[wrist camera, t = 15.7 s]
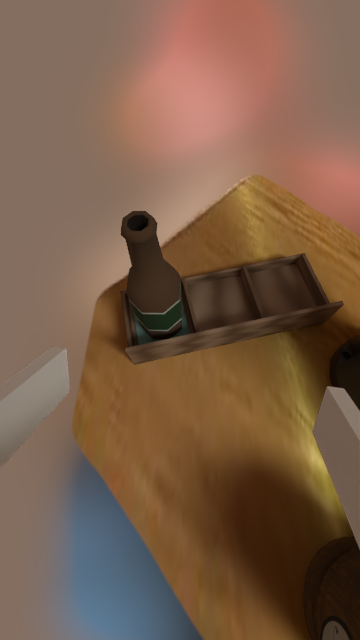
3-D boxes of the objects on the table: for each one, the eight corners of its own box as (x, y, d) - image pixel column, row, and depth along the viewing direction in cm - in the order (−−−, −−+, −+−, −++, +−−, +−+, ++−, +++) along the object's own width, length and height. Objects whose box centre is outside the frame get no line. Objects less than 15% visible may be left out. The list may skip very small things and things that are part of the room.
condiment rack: (295, 263, 54) (309, 239, 47) (324, 322, 48) (343, 304, 42) (125, 299, 52) (115, 279, 46) (134, 364, 47) (125, 351, 40)
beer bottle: (191, 333, 47) (189, 238, 25) (148, 348, 47) (108, 264, 25) (175, 296, 50) (162, 184, 29) (135, 310, 50) (89, 206, 28)
